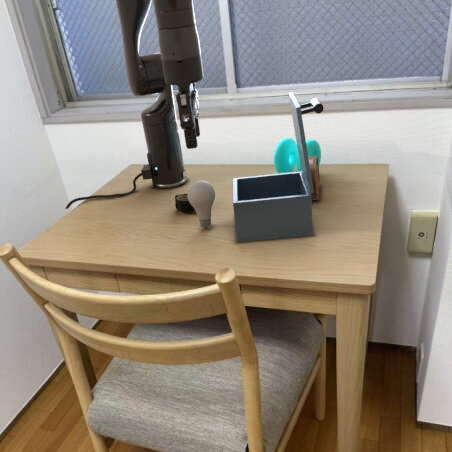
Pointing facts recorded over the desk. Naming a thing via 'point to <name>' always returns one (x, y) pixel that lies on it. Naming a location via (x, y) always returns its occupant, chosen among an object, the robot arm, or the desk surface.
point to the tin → (314, 175)
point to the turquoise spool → (293, 154)
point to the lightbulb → (202, 201)
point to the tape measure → (183, 203)
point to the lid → (300, 134)
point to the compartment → (272, 207)
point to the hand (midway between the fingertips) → (193, 142)
